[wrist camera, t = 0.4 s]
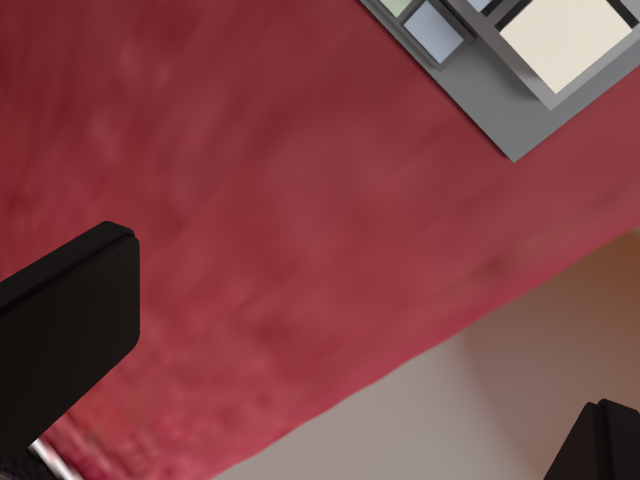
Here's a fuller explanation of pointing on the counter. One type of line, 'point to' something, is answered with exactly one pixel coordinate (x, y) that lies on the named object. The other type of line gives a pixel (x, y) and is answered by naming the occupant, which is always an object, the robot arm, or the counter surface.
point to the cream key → (564, 36)
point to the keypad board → (501, 65)
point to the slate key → (479, 4)
